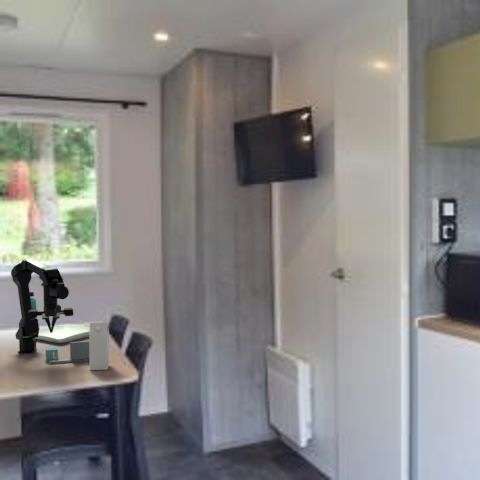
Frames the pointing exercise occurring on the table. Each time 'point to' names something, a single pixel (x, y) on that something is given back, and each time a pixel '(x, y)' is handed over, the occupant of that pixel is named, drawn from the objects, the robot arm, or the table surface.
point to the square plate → (63, 333)
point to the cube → (51, 353)
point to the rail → (67, 360)
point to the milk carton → (99, 346)
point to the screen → (79, 349)
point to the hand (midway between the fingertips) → (51, 332)
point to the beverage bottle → (33, 302)
